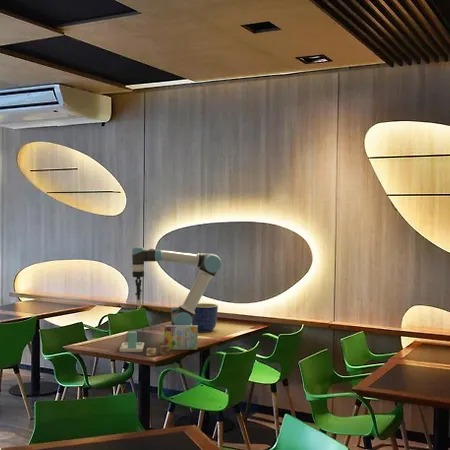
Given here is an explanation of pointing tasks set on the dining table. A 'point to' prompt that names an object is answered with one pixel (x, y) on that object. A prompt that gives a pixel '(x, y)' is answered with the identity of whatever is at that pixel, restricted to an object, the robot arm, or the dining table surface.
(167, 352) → the walnut cube
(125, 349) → the tray
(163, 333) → the grey-brown upright piece
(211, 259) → the robot arm
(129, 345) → the teal block
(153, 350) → the beech block
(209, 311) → the planter
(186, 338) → the snack box
